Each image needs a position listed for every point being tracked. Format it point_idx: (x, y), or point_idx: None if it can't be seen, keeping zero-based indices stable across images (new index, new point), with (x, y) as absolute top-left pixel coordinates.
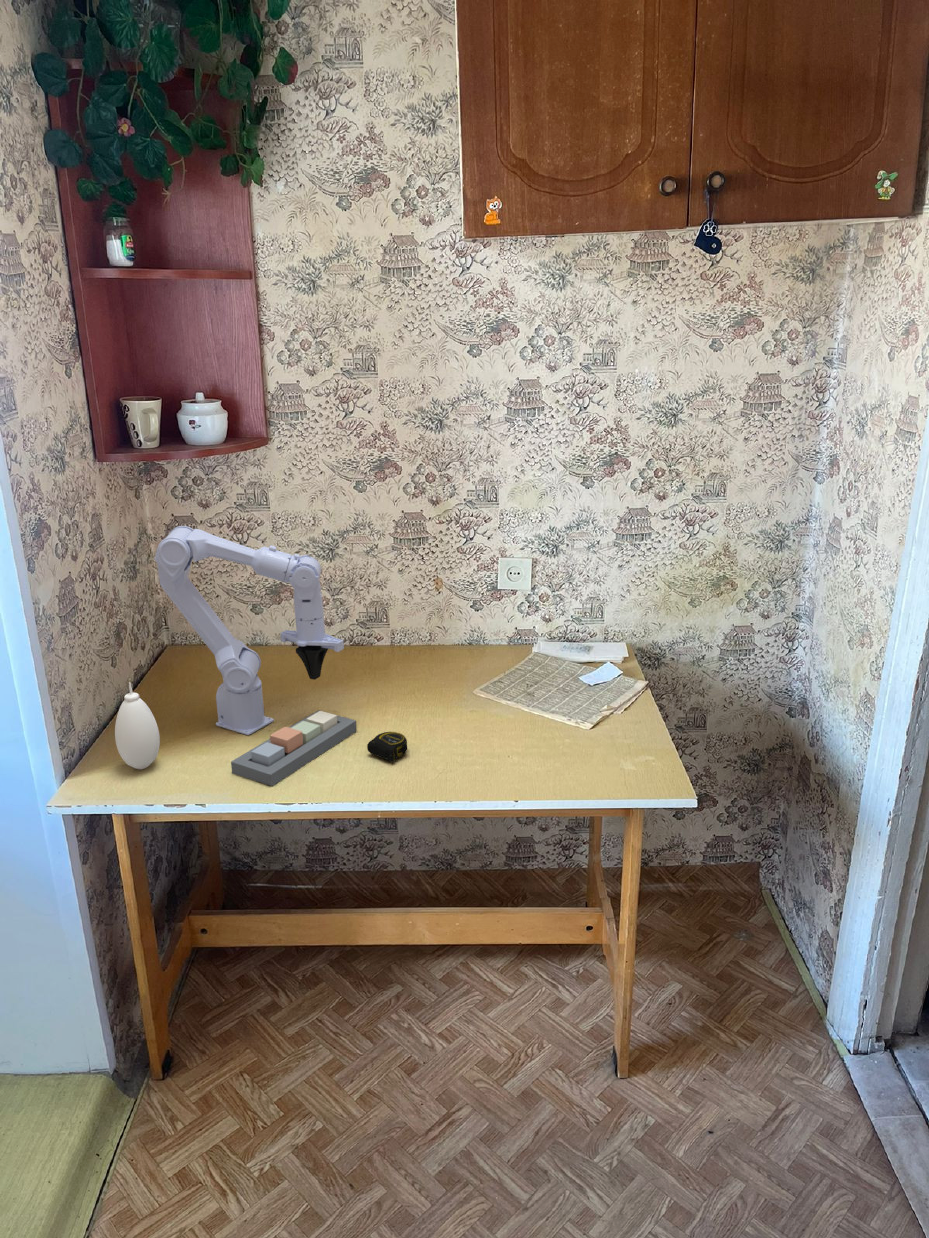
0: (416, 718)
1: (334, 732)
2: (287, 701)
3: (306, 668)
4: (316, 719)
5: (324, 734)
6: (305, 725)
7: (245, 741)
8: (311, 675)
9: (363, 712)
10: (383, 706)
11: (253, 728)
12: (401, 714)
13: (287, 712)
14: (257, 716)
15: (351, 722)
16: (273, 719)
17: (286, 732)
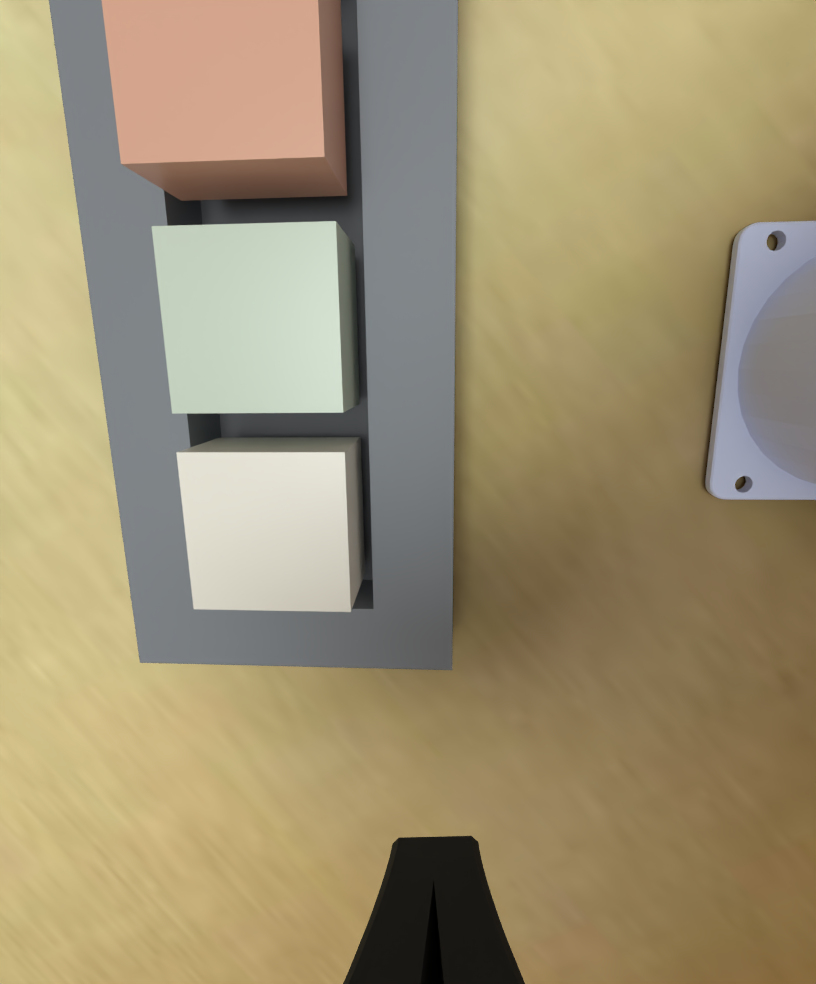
0: (37, 868)
1: (129, 463)
2: (796, 741)
3: (503, 976)
4: (270, 483)
5: (162, 403)
6: (268, 355)
7: (702, 154)
8: (426, 877)
9: (303, 813)
10: (262, 905)
11: (757, 310)
12: (126, 872)
13: (702, 629)
14: (790, 350)
15: (145, 629)
16: (710, 490)
17: (225, 61)
